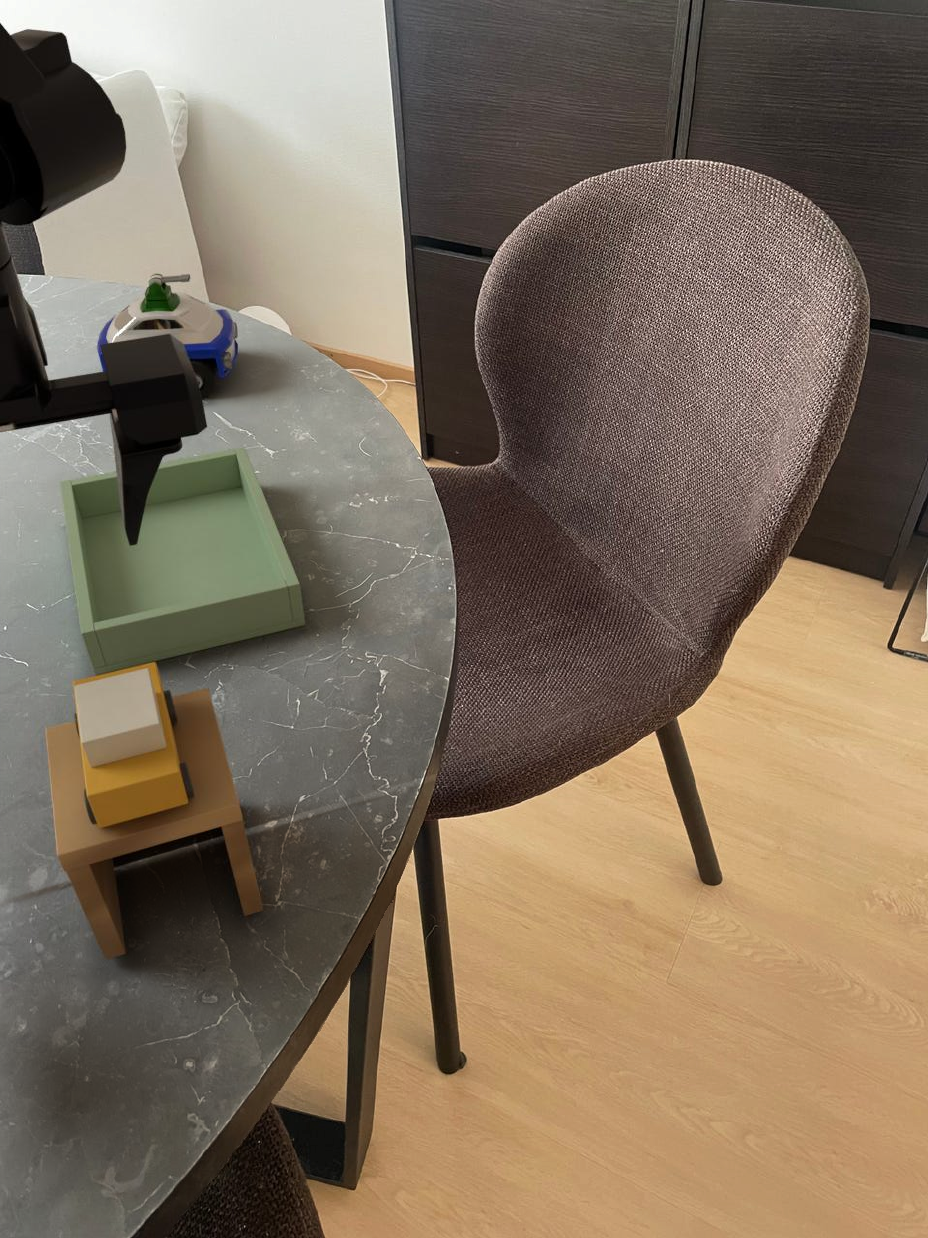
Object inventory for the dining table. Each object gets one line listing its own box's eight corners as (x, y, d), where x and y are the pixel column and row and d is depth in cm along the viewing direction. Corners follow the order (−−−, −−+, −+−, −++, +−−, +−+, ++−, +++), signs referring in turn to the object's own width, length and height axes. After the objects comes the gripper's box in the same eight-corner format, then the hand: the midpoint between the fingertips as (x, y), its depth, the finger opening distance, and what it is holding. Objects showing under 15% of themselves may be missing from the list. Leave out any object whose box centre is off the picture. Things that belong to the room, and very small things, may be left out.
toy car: (236, 398, 90) (220, 296, 83) (99, 403, 89) (72, 300, 83) (245, 350, 97) (230, 253, 90) (118, 354, 96) (94, 256, 90)
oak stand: (105, 966, 49) (56, 856, 43) (90, 841, 54) (44, 728, 48) (265, 915, 51) (239, 804, 45) (234, 800, 56) (208, 687, 50)
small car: (197, 810, 45) (179, 744, 42) (95, 839, 43) (69, 773, 40) (173, 700, 50) (155, 634, 47) (80, 723, 48) (56, 657, 45)
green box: (95, 675, 64) (81, 633, 61) (72, 521, 76) (59, 481, 73) (305, 625, 67) (299, 583, 65) (250, 485, 79) (244, 446, 77)
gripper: (142, 177, 50) (196, 448, 60) (-284, 225, 45) (-146, 511, 55) (177, 261, 42) (232, 555, 53) (-333, 330, 37) (-161, 640, 48)
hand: (41, 559), depth 52 cm, fingers open, 9 cm apart
